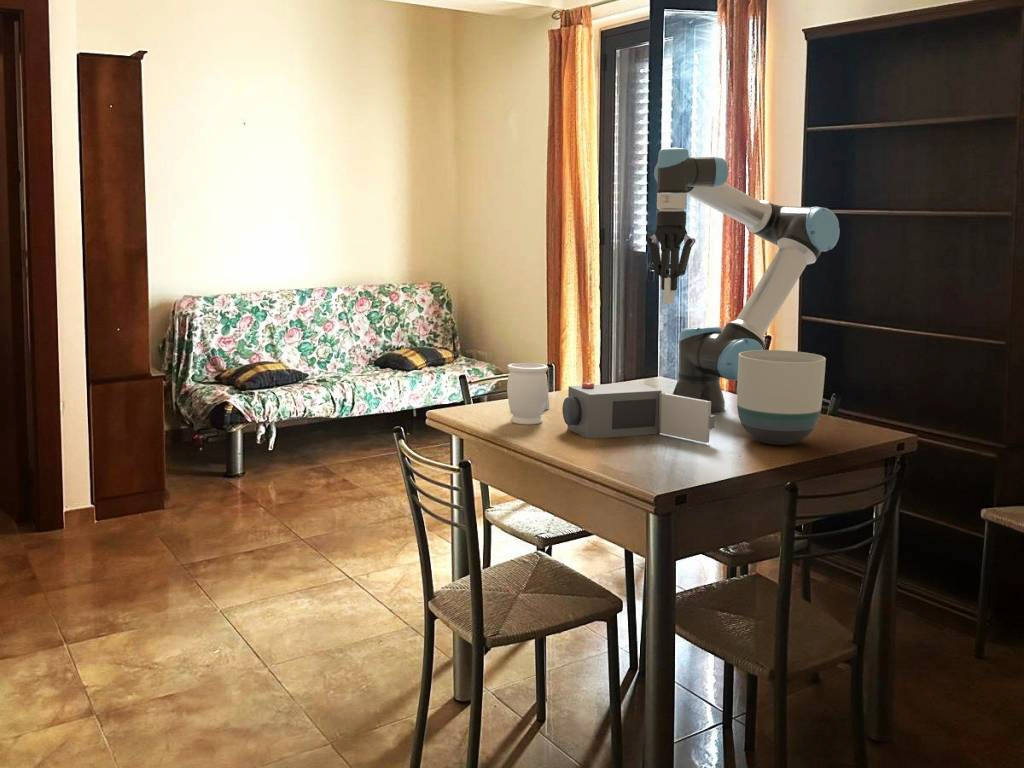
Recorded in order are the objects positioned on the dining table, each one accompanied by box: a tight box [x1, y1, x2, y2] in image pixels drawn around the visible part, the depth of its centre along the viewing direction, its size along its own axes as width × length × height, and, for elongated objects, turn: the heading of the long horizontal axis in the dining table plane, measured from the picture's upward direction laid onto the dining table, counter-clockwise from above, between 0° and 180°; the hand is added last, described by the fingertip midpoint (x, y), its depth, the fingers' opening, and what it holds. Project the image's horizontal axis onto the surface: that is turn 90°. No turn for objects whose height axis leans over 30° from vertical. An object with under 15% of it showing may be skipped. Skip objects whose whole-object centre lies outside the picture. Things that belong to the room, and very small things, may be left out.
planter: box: [736, 349, 827, 446], centre depth 260 cm, size 20×20×21 cm
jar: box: [506, 362, 549, 426], centre depth 279 cm, size 11×10×15 cm
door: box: [658, 392, 716, 444], centre depth 263 cm, size 16×2×10 cm, turn 44°
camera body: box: [561, 382, 663, 440], centre depth 270 cm, size 22×12×12 cm, turn 112°
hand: (668, 303), depth 277 cm, fingers closed
